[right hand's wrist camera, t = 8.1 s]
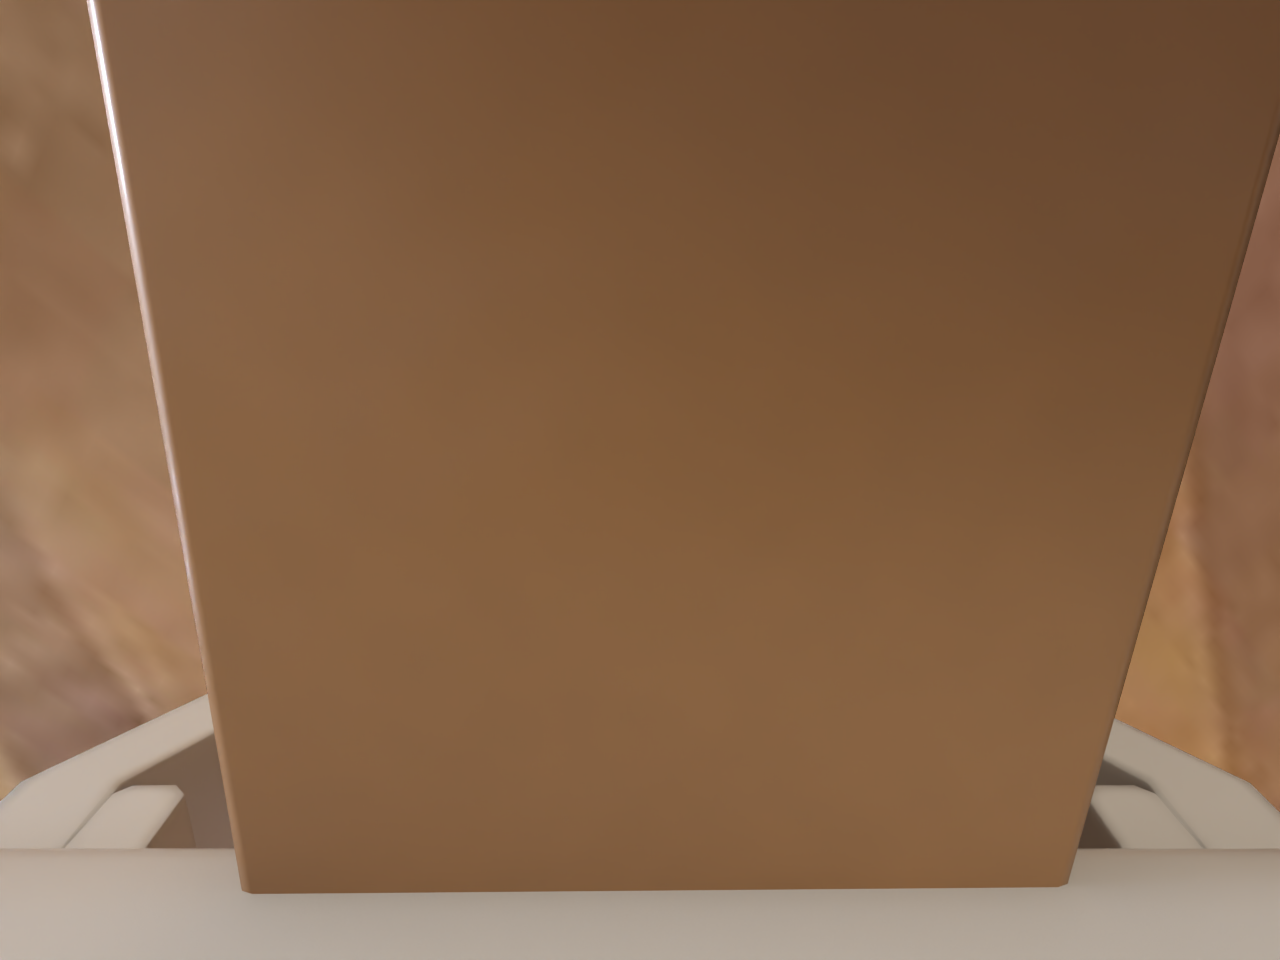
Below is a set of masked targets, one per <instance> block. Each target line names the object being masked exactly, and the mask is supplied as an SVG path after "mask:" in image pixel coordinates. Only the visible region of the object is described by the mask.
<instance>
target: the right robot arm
mask: <svg viewBox="0 0 1280 960" xmlns="http://www.w3.org/2000/svg"><path fill="white" fill-rule="evenodd" d="M0 960H1280V812H1279V811H1278V810H1277V809H1276V808H1275V807H1274V806H1273V805H1272V804H1271V803H1270V802H1269V801H1268V800H1267V799H1266V798H1265V797H1264V796H1263V795H1262V794H1261V793H1260V792H1259V791H1258V790H1257V789H1255V788H1254V787H1253V786H1252V785H1251V784H1250V783H1249V782H1247V781H1245V780H1243V779H1240V778H1238V777H1236V776H1234V775H1232V774H1230V773H1228V772H1226V771H1224V770H1222V769H1220V768H1217V767H1215V766H1213V765H1211V764H1209V763H1207V762H1205V761H1203V760H1201V759H1199V758H1197V757H1194V756H1192V755H1190V754H1188V753H1186V752H1184V751H1182V750H1180V749H1178V748H1176V747H1174V746H1171V745H1169V744H1167V743H1165V742H1163V741H1161V740H1159V739H1157V738H1155V737H1153V736H1151V735H1148V734H1146V733H1144V732H1142V731H1140V730H1138V729H1136V728H1134V727H1132V726H1130V725H1128V724H1125V723H1123V722H1121V721H1119V720H1117V719H1115V718H1114V721H1113V725H1112V728H1111V732H1110V736H1109V739H1108V743H1107V746H1106V750H1105V753H1104V757H1103V760H1102V764H1101V767H1100V771H1099V774H1098V778H1097V782H1096V785H1095V789H1094V792H1093V796H1092V799H1091V803H1090V806H1089V810H1088V813H1087V817H1086V820H1085V824H1084V828H1083V831H1082V835H1081V838H1080V842H1079V845H1078V849H1077V852H1076V856H1075V859H1074V863H1073V866H1072V870H1071V874H1070V877H1069V881H1068V884H1065V885H1063V886H1060V887H1027V888H908V889H790V890H671V891H552V892H433V893H314V894H251V893H247V892H244V891H242V889H241V883H240V878H239V872H238V866H237V860H236V855H235V849H234V843H233V838H232V832H231V826H230V820H229V815H228V809H227V803H226V797H225V792H224V786H223V780H222V774H221V769H220V763H219V757H218V751H217V746H216V740H215V734H214V728H213V723H212V717H211V711H210V705H209V700H208V694H206V695H204V696H202V697H199V698H197V699H195V700H193V701H191V702H189V703H187V704H185V705H182V706H180V707H178V708H176V709H174V710H172V711H170V712H168V713H166V714H163V715H161V716H159V717H157V718H155V719H153V720H151V721H149V722H146V723H144V724H142V725H140V726H138V727H136V728H134V729H132V730H130V731H127V732H125V733H123V734H121V735H119V736H117V737H115V738H113V739H110V740H108V741H106V742H104V743H102V744H100V745H98V746H96V747H93V748H91V749H89V750H87V751H85V752H83V753H81V754H79V755H77V756H74V757H72V758H70V759H68V760H66V761H64V762H62V763H60V764H57V765H55V766H53V767H51V768H49V769H47V770H45V771H43V772H41V773H38V774H36V775H34V776H32V777H30V778H28V779H26V780H24V781H21V782H20V783H19V784H18V785H17V786H16V787H15V788H14V789H13V790H12V791H11V792H10V793H9V794H8V795H7V796H6V797H5V798H3V799H2V800H1V801H0Z"/></svg>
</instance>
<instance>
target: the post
mask: <svg viewBox="0 0 1280 960" xmlns="http://www.w3.org/2000/svg"><path fill="white" fill-rule="evenodd" d="M87 5H88V11H89V17H90V22H91V28H92V34H93V40H94V45H95V51H96V57H97V63H98V68H99V74H100V80H101V85H102V91H103V97H104V103H105V108H106V114H107V120H108V126H109V131H110V137H111V143H112V149H113V154H114V160H115V166H116V172H117V177H118V183H119V189H120V195H121V200H122V206H123V212H124V218H125V223H126V229H127V235H128V240H129V246H130V252H131V258H132V263H133V269H134V275H135V281H136V286H137V292H138V298H139V304H140V309H141V315H142V321H143V327H144V332H145V338H146V344H147V350H148V355H149V361H150V367H151V373H152V378H153V384H154V390H155V395H156V401H157V407H158V413H159V418H160V424H161V430H162V436H163V441H164V447H165V453H166V459H167V464H168V470H169V476H170V482H171V487H172V493H173V499H174V505H175V510H176V516H177V522H178V528H179V533H180V539H181V545H182V550H183V556H184V562H185V568H186V573H187V579H188V585H189V591H190V596H191V602H192V608H193V614H194V619H195V625H196V631H197V637H198V642H199V648H200V654H201V660H202V665H203V671H204V677H205V683H206V688H207V694H208V700H209V705H210V711H211V717H212V723H213V728H214V734H215V740H216V746H217V751H218V757H219V763H220V769H221V774H222V780H223V786H224V792H225V797H226V803H227V809H228V815H229V820H230V826H231V832H232V838H233V843H234V849H235V855H236V860H237V866H238V872H239V878H240V883H241V889H242V891H244V892H247V893H251V894H314V893H433V892H552V891H671V890H790V889H908V888H1027V887H1060V886H1063V885H1065V884H1068V881H1069V877H1070V874H1071V870H1072V866H1073V863H1074V859H1075V856H1076V852H1077V849H1078V845H1079V842H1080V838H1081V835H1082V831H1083V828H1084V824H1085V820H1086V817H1087V813H1088V810H1089V806H1090V803H1091V799H1092V796H1093V792H1094V789H1095V785H1096V782H1097V778H1098V774H1099V771H1100V767H1101V764H1102V760H1103V757H1104V753H1105V750H1106V746H1107V743H1108V739H1109V736H1110V732H1111V728H1112V725H1113V721H1114V718H1115V714H1116V711H1117V707H1118V704H1119V700H1120V697H1121V693H1122V690H1123V686H1124V682H1125V679H1126V675H1127V672H1128V668H1129V665H1130V661H1131V658H1132V654H1133V651H1134V647H1135V644H1136V640H1137V636H1138V633H1139V629H1140V626H1141V622H1142V619H1143V615H1144V612H1145V608H1146V605H1147V601H1148V598H1149V594H1150V590H1151V587H1152V583H1153V580H1154V576H1155V573H1156V569H1157V566H1158V562H1159V559H1160V555H1161V552H1162V548H1163V544H1164V541H1165V537H1166V534H1167V530H1168V527H1169V523H1170V520H1171V516H1172V513H1173V509H1174V506H1175V502H1176V498H1177V495H1178V491H1179V488H1180V484H1181V481H1182V477H1183V474H1184V470H1185V467H1186V463H1187V460H1188V456H1189V452H1190V449H1191V445H1192V442H1193V438H1194V435H1195V431H1196V428H1197V424H1198V421H1199V417H1200V414H1201V410H1202V406H1203V403H1204V399H1205V396H1206V392H1207V389H1208V385H1209V382H1210V378H1211V375H1212V371H1213V368H1214V364H1215V360H1216V357H1217V353H1218V350H1219V346H1220V343H1221V339H1222V336H1223V332H1224V329H1225V325H1226V322H1227V318H1228V314H1229V311H1230V307H1231V304H1232V300H1233V297H1234V293H1235V290H1236V286H1237V283H1238V279H1239V275H1240V272H1241V268H1242V265H1243V261H1244V258H1245V254H1246V251H1247V247H1248V244H1249V240H1250V237H1251V233H1252V230H1253V226H1254V222H1255V219H1256V215H1257V212H1258V208H1259V205H1260V201H1261V198H1262V194H1263V191H1264V187H1265V183H1266V180H1267V176H1268V173H1269V169H1270V166H1271V162H1272V159H1273V155H1274V152H1275V148H1276V145H1277V141H1278V137H1279V134H1280V0H87Z"/></svg>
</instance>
